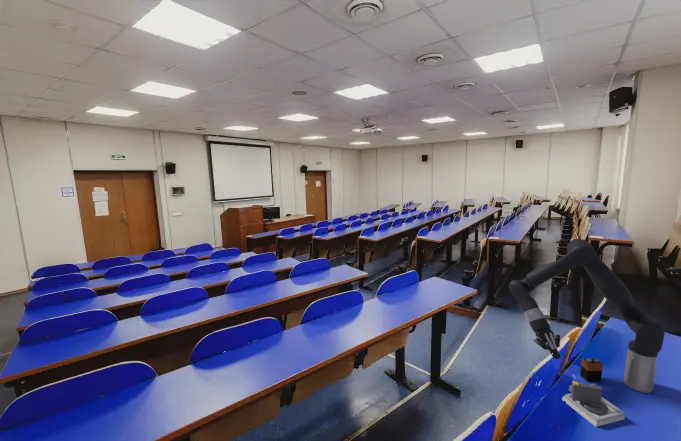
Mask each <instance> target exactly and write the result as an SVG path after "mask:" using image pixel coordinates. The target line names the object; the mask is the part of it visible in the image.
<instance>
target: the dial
mask: <svg viewBox="0 0 681 441" xmlns="http://www.w3.org/2000/svg"><path fill="white" fill-rule="evenodd" d="M579 383H580V382H578V381H575V380H572V383H571V385H572V392H571V398H572V400H575V401H579V403H580V404H581V406H583V407H584V408H585V409H587V410H588V411H590V412H592V413H595V414H599V415H605V414H607V413H608V407H607V406H606V405H605V404H604V403H603V402H602V401H601V397H602V395H603V389H602V387H601V386H598V385H595V386H592V385H590V384H585V383H583V384H579ZM602 398H603V397H602Z"/></svg>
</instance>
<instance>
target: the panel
mask: <svg viewBox="0 0 681 441" xmlns="http://www.w3.org/2000/svg"><path fill="white" fill-rule="evenodd" d="M571 393H572V392H571ZM571 393H566V394H564V396H562V398H561V400H562V401H563V402H564V401H565V402H566V404H567V405H568V406H569V407H570V408H572V409H573V410H574V411H576V413H578V415H580V416H581V417H582V418H584V419H585V420H587V421H588V422H589V423H590V424H591V425H593V426H594V427H601V426H604V425H607V424H613V423H616V422H620V421H624V420H625V411H623V410H621V409H620V408H618V407H617V406H615V405H614V404H613V403H611V402H610V401H608V400H607V399H605V398H604V397H601V401H602V402H603V403H604V404H605V405H606V406H607V407H608V413H607V414H605V415H599V414H595V413H592V412H590V411H588V410H587V409H585V408H584V407H583V406H581V404H580V403H579V401H575V400H572V398H571ZM565 402H564V403H565Z"/></svg>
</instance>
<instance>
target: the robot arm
mask: <svg viewBox="0 0 681 441" xmlns="http://www.w3.org/2000/svg"><path fill="white" fill-rule="evenodd" d="M566 251H567V253H566V254H565V255H564V256H562V257H560V258H559V259H557V260H555V261H552V262H549V263H545V264H542V265H540V266H538V267H536V268H534V269H532V270H531V271H530V272H527V274H526V276H525V277H523V278H522V279H521V280H519V279H513V280H511V281H510V282H509V284H508V288H509V291H510V293H511V295H512V296H513V297H514V299H515V300H516V301H517V303H518V304H519V306H520V307H521V309H522V312H523V313H524V315H525V318H526V321H527V322H528V324H529V326H530V328H531V329H532V331H533V332H534V334H535V339H533V342H534V343H536V344H537V345H538V346H539V347H541V348H542V349H543V350H545V351H546V350H547V351H549V352H550V355H551V357H552V358H553V359H554V360H560V359H562V355H561V354H560V352H559V351H558V348H560V345H561V335H560V334H556V333H554V331H553V330H552V329H551V325H550V323H549V321H548V319H547V318H546V316H545V314H544V313H543V311H542V310H541V308H540V306H539V305H538V303H537V301H536V299H534V298H533V297H532V296H531V295H530V294H529V293H531V292H532V291H534V290H535V289H536V288H538V287H539V286H541V285H542V284H544V283H546V282H548V281H549V280H551V279H553V278H554V277H557V276H559V275H560V274H563V273H566V272H569V271H570V270H573V269H576V268H578V267H581V266H582V267H583V269H584V270H585V272H586V273H587V274H588V277H589V278H590V280H591V282H592V283H593V284H594V286H595V287H596V289H597V290H598V291H599V292H600V293H601V295H602V296H603V298H605V300H606V301H608V302H609V304H610V305H612V306H613V307H614V308H615V309H616V310H617V312H618V313H619V314H620V315H621V317H622V319H623V320H624V321H625V323H626V324H627V326H628V327H629V329H630V330H631V331H632V332H633V333H634V334H635V338H634V339H632V340H630V341H629V342H628V344H627V345H628V346H627V352H626V353H627V354H626V360H625V361H626V362H625V368H624V375H623V383H624V384H625V385H626V386H627V387H629V388H630V389H632V390H634V391H637V392H640V393H644V394H645V393H646V394H650V393H652V392H653V389H654V387H655V386H654V384H655V378H656V375H657V374H656V373H657V369H656V367H657V360H658V354H659V353H660V352H661V351H662V348H663V343H664V339H665V334H666V333H665V328H664V326H663V325H661V323H659V322H658V321H657V320H655V319H654V318H652V317H651V316H649V315H648V314H647V313H646V312H645V311H643V309H642V308H641V307H639V305H638V304H637V303H636V302H635V300H634V298H633V295H632V293H631V291H630V290H629V288H628V287H627V286H626V285H625V283H624V282H623V281H622V280H621V278H620V277H618V275H616V273H614V271H613V270H612V269H611V268H610V267H608V266H607V264H605V263H604V261H603V260H602V259H601V258H600V257H599V255H598V254H597V252H596V251H595V249H594V248H593V246H592V244H591V243H590V242H589V241H587V240H585V239H582V238H576V239H575V238H574V239H572V240H570V241H569V242H568V244H567V246H566ZM552 353H553V354H552Z"/></svg>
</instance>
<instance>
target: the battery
mask: <svg viewBox="0 0 681 441" xmlns="http://www.w3.org/2000/svg"><path fill="white" fill-rule="evenodd" d="M603 367H604V363H602V362H601V361H600V360H599V359H598V358H595V357H594V358H588V357H587V358H586V357H585V358H581V364H580V373H579V374H580V375H579V376H580V377H582V379H584V380H585V381H586V382H602V375H603Z"/></svg>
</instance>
